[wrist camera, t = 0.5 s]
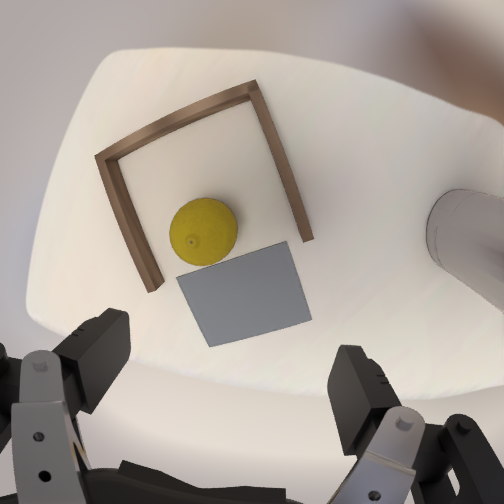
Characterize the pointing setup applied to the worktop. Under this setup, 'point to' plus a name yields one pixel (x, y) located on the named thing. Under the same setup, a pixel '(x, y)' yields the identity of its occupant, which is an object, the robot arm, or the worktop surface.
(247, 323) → the mat
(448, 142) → the worktop surface
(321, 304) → the worktop surface
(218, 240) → the lemon
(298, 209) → the bay
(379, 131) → the worktop surface
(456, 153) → the worktop surface
